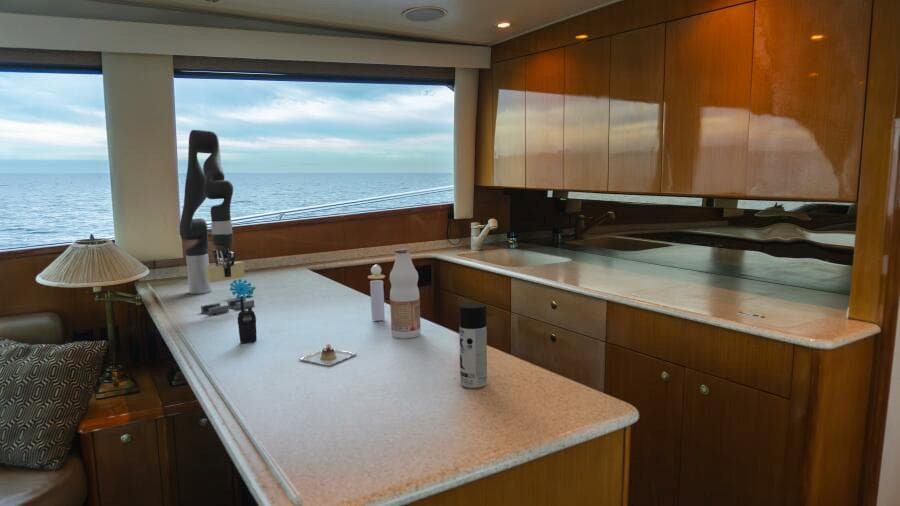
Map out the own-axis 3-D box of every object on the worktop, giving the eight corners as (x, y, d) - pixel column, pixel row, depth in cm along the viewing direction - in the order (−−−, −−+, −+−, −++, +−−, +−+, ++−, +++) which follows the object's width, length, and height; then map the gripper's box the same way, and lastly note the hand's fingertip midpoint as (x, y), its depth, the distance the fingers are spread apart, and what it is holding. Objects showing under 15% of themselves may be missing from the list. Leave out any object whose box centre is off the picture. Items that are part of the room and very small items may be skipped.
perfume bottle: (381, 323, 208) (378, 266, 205) (367, 322, 211) (364, 266, 208) (389, 319, 213) (387, 264, 210) (375, 318, 216) (373, 263, 213)
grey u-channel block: (201, 312, 231) (200, 306, 231) (243, 303, 245) (243, 297, 244) (211, 315, 226) (211, 309, 226) (254, 306, 239) (254, 300, 239)
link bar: (206, 281, 230) (205, 266, 229) (240, 276, 240) (239, 261, 239) (210, 282, 227) (209, 267, 227) (244, 276, 238) (243, 262, 237)
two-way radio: (240, 344, 187) (236, 297, 185) (238, 341, 191) (234, 295, 189) (258, 341, 190) (255, 295, 188) (255, 338, 194) (252, 293, 192)
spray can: (459, 380, 151) (457, 302, 148) (485, 378, 152) (484, 301, 149) (461, 390, 144) (459, 309, 142) (489, 388, 145) (488, 307, 142)
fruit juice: (397, 340, 187) (394, 252, 183) (387, 333, 195) (383, 248, 191) (425, 336, 191) (422, 249, 187) (414, 329, 199) (411, 246, 195)
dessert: (329, 369, 164) (328, 352, 163) (297, 362, 170) (296, 346, 169) (358, 357, 174) (357, 341, 173) (327, 351, 180) (326, 335, 179)
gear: (232, 296, 251) (228, 277, 256) (229, 305, 255) (225, 286, 260) (258, 296, 258) (254, 278, 263) (254, 304, 261) (250, 286, 267)
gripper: (203, 232, 233) (207, 276, 235) (222, 234, 224) (226, 279, 226) (222, 230, 238) (225, 273, 241) (240, 232, 229) (244, 276, 232)
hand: (225, 276), depth 233 cm, fingers closed on link bar, 3 cm apart
